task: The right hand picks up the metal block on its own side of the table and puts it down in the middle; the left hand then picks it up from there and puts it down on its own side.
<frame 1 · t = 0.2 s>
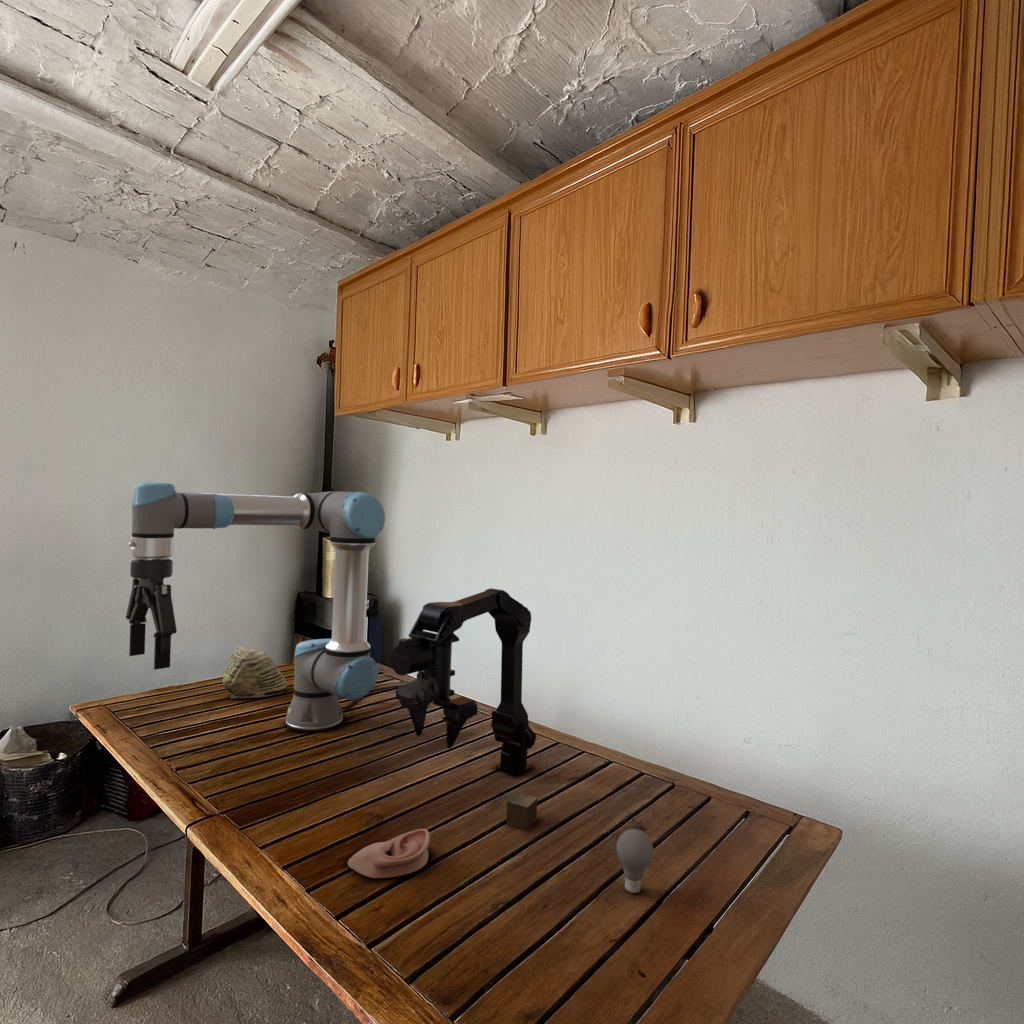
left hand: (149, 661, 130), 28 cm above the table, tool pointing down, fingers open, 13 cm apart
right hand: (434, 741, 129), 14 cm above the table, tool pointing down, fingers open, 9 cm apart
light bulb: (632, 891, 106), on the table
block: (521, 821, 127), on the table
anatomical model: (389, 861, 111), on the table
fossil: (254, 694, 198), on the table
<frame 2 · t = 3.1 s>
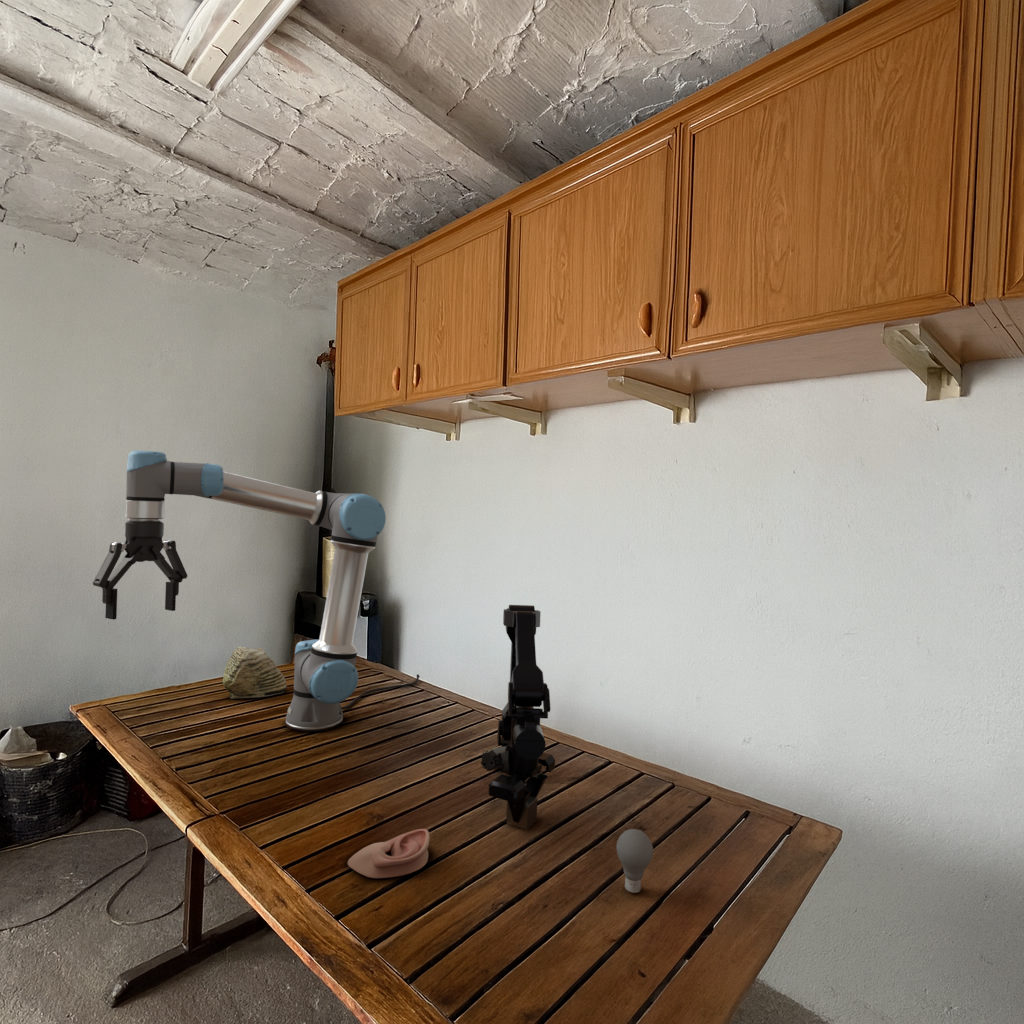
left hand: (141, 614, 142), 35 cm above the table, tool pointing down, fingers open, 13 cm apart
right hand: (521, 816, 127), 1 cm above the table, tool pointing down, fingers closed on block, 4 cm apart
block: (521, 821, 127), on the table, touching right hand
everything else where it was.
when the right hand's fingers open (2 cm above the table, at t = 6.6 s): block stays where it is, on the table.
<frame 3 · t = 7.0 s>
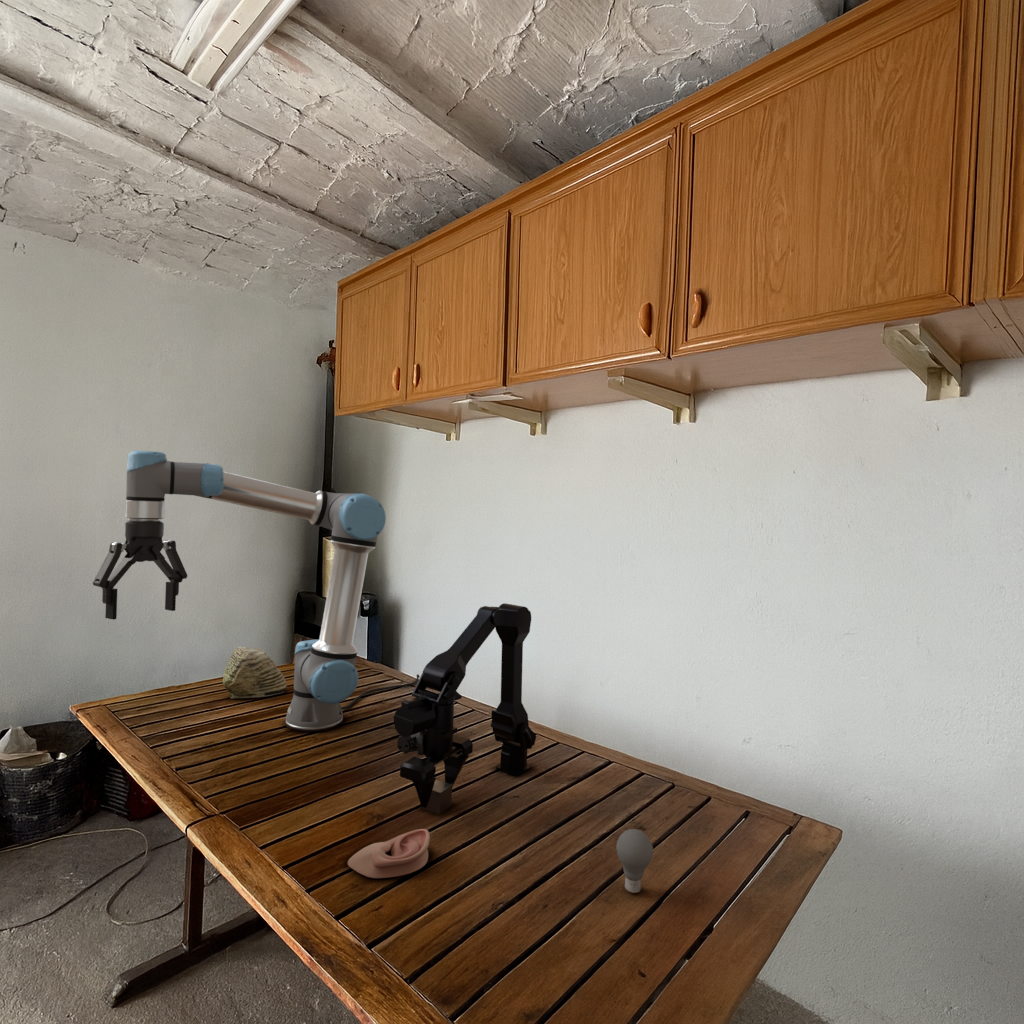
left hand: (141, 614, 142), 35 cm above the table, tool pointing down, fingers open, 13 cm apart
right hand: (436, 798, 131), 2 cm above the table, tool pointing down, fingers open, 9 cm apart
block: (436, 807, 131), on the table
everything else where it was.
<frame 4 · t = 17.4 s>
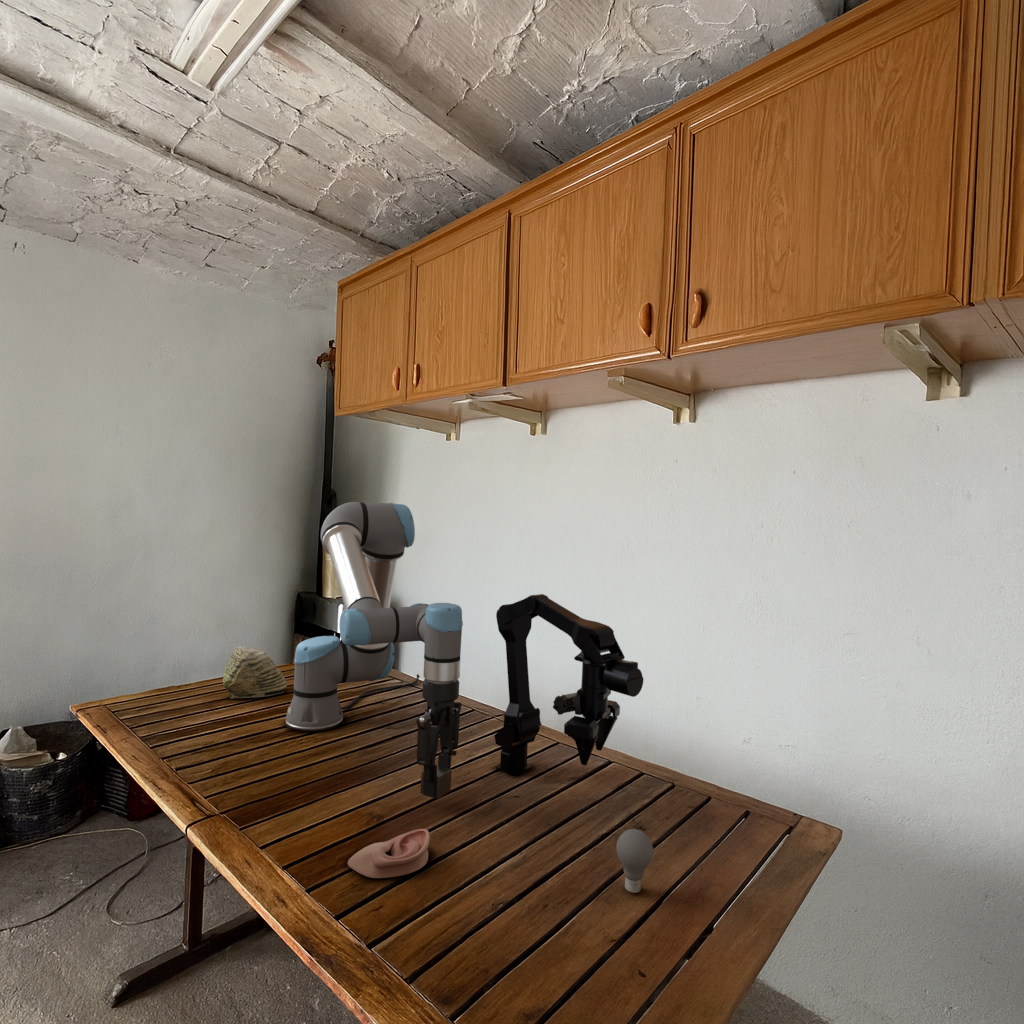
left hand: (436, 790, 131), 3 cm above the table, tool pointing down, fingers closed on block, 4 cm apart
right hand: (591, 757, 135), 10 cm above the table, tool pointing down, fingers open, 9 cm apart
block: (435, 791, 132), point 3 cm above the table, touching left hand
everything else where it was.
when the left hand's fingers open (1 cm above the table, at t = 26.0 s): block stays where it is, on the table.
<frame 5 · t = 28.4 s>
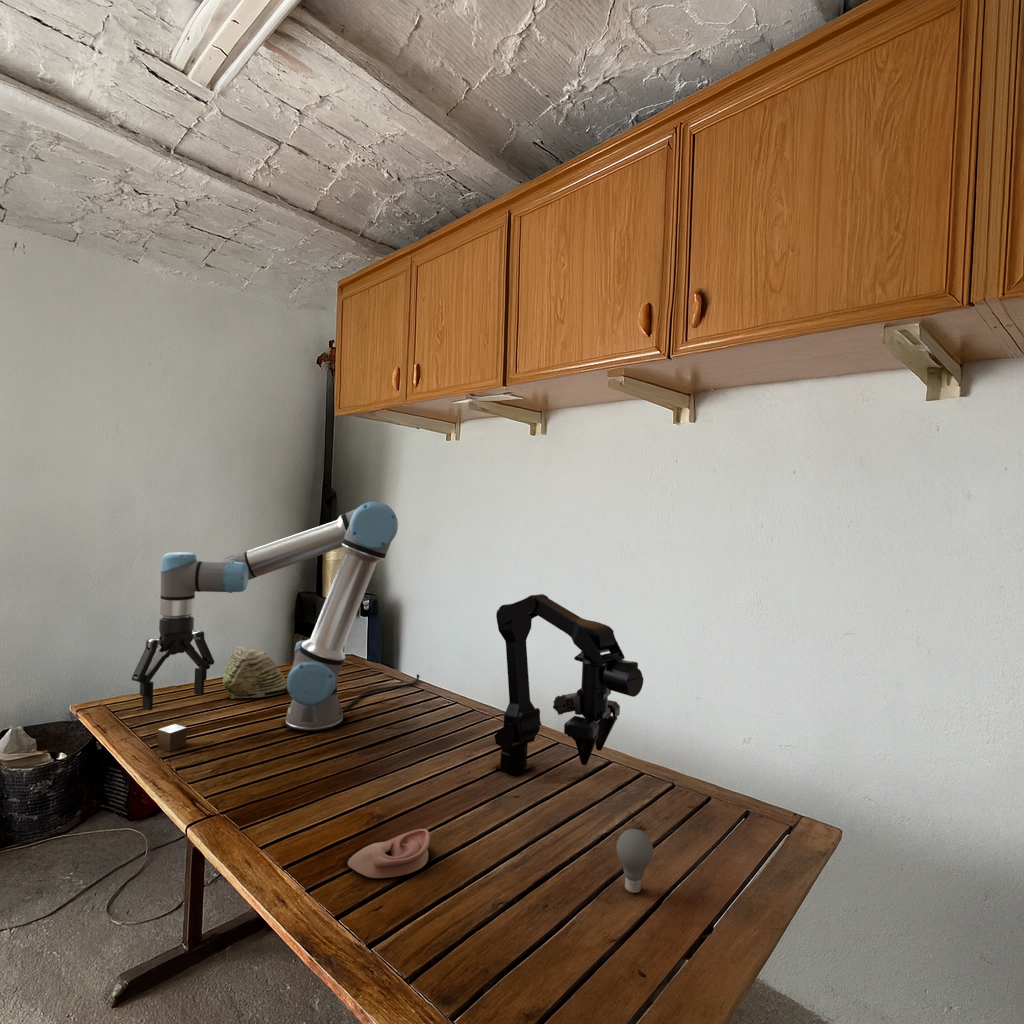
left hand: (174, 701, 156), 11 cm above the table, tool pointing down, fingers open, 13 cm apart
right hand: (591, 757, 135), 10 cm above the table, tool pointing down, fingers open, 9 cm apart
block: (172, 746, 156), on the table
everything else where it was.
at the end: block inside the target area (0.2 cm from its centre), on the table; block tilted 0°; the two hands never held the block at the same time; the left hand is holding nothing; the right hand is holding nothing; block at rest at the end (0.1 cm/s) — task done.
